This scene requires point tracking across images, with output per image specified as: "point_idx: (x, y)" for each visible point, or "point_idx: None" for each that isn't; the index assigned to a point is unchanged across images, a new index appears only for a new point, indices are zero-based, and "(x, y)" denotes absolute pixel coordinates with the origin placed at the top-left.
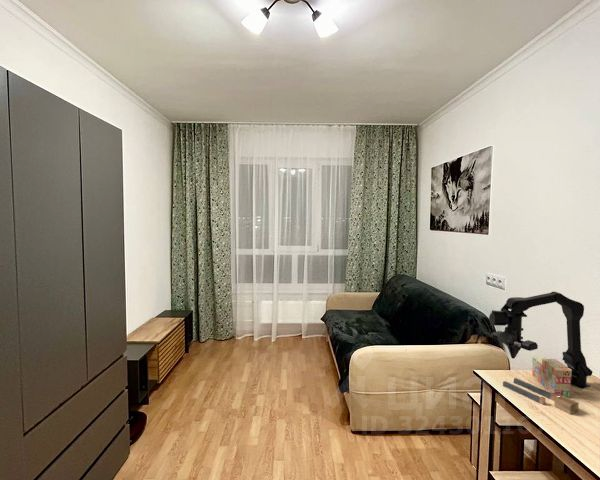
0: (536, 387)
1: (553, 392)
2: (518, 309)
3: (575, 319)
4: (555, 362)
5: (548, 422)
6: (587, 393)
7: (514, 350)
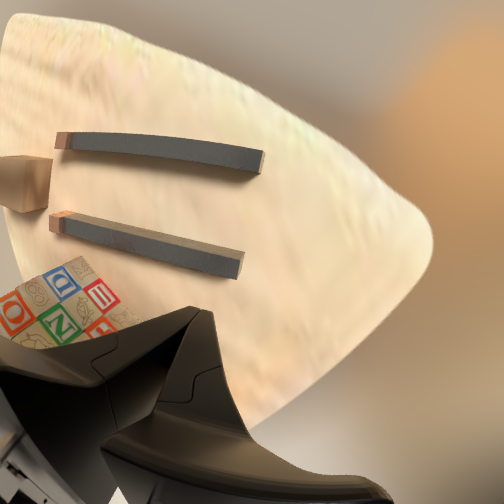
0: (116, 241)
1: (78, 265)
2: None
3: None
4: None
5: (51, 47)
6: None
7: (83, 348)
